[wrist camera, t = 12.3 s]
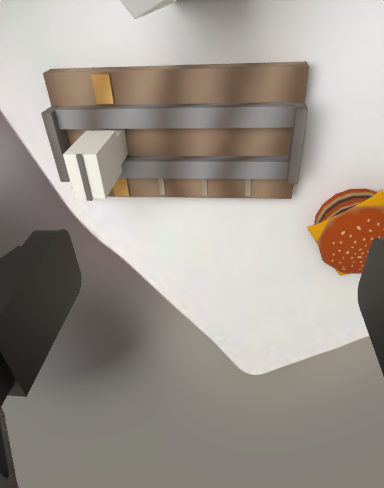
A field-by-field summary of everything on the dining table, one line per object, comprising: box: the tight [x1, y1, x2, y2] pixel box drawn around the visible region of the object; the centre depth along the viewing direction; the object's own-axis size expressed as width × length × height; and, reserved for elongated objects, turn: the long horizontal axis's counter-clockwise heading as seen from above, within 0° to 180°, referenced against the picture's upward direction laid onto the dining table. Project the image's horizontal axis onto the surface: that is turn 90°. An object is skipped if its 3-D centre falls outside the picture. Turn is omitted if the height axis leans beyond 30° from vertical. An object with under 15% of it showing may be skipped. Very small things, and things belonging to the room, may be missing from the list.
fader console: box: [41, 62, 309, 199], centre depth 39 cm, size 26×14×4 cm, turn 92°
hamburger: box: [307, 189, 384, 275], centre depth 43 cm, size 9×10×7 cm
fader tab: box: [63, 129, 128, 201], centre depth 36 cm, size 3×4×9 cm, turn 2°
